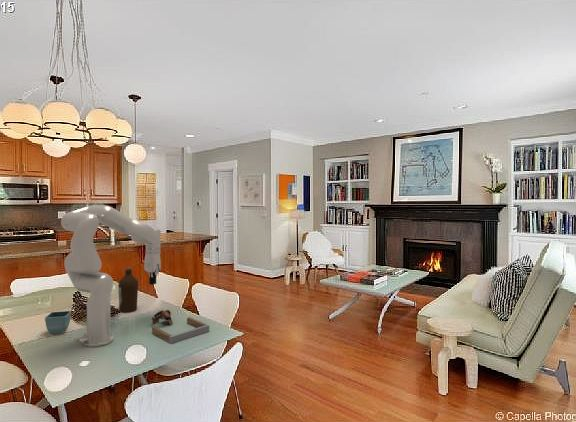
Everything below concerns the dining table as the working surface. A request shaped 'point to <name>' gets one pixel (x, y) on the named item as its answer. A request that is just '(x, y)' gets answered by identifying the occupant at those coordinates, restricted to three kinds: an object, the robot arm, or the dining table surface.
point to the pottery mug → (162, 316)
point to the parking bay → (171, 339)
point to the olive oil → (128, 292)
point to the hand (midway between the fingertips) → (152, 284)
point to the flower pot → (58, 322)
